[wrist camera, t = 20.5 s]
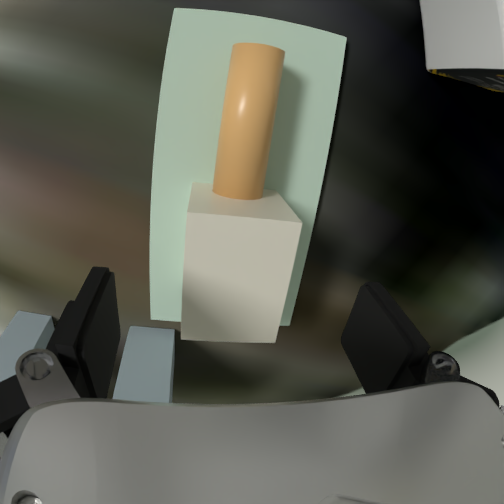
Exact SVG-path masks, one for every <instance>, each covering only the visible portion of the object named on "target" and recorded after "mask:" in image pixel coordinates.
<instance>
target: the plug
mask: <svg viewBox="0 0 504 504" xmlns="http://www.w3.org/2000/svg"><path fill="white" fill-rule="evenodd" d="M284 58H285V51H284V50H282V49H280V48H277V47H274V46H270V45H265V44H259V43H236V44H233V46H232V52H231V58H230V64H229V71H228V77H227V84H226V90H225V97H224V104H223V111H222V118H221V125H220V132H219V140H218V148H217V155H216V163H215V172H214V180H213V184H210V183H199V182H192V187H191V193H190V198H189V204H188V209H187V219H186V232H185V247H184V264H183V285H182V311H181V340H198V341H219V342H251V343H275V341H276V337H277V333H278V329H279V325H280V321H281V317H282V312H283V308H284V304H285V300H286V295H287V291H288V287H289V282H290V278H291V274H292V269H293V265H294V260H295V256H296V251H297V247H298V242H299V237H300V233H301V228H302V222H301V220H300V219H299V218H298V217H297V215H296V214H295V213H294V212H293V210H292V209H291V208H290V207H289V205H288V204H287V203H286V202H285V201H284V199H283V198H282V197H281V196H280V194H279V193H278V192H277V191H276V190H268V189H264V183H265V177H266V171H267V165H268V158H269V152H270V146H271V140H272V133H273V127H274V121H275V115H276V108H277V102H278V96H279V89H280V83H281V77H282V71H283V64H284Z"/></svg>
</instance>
